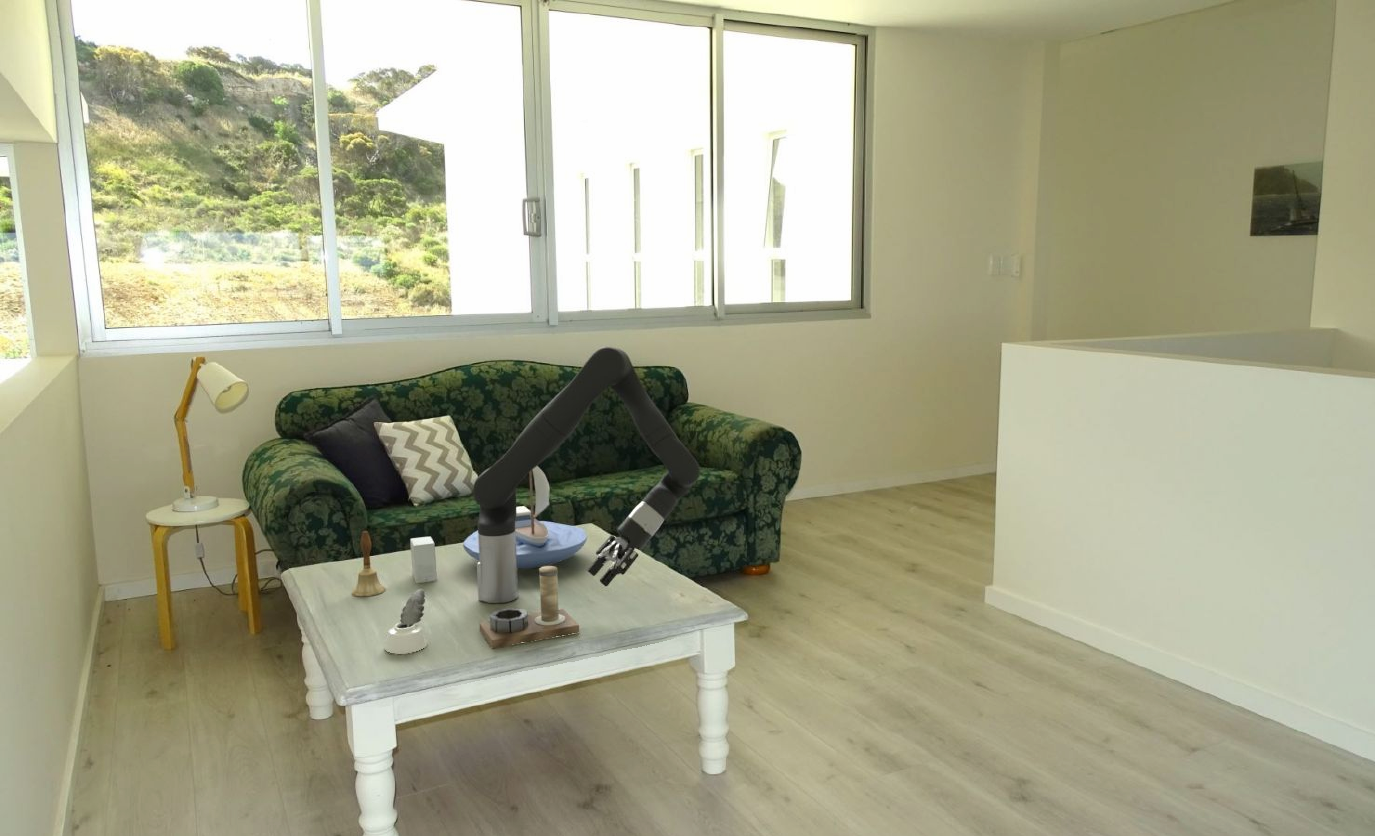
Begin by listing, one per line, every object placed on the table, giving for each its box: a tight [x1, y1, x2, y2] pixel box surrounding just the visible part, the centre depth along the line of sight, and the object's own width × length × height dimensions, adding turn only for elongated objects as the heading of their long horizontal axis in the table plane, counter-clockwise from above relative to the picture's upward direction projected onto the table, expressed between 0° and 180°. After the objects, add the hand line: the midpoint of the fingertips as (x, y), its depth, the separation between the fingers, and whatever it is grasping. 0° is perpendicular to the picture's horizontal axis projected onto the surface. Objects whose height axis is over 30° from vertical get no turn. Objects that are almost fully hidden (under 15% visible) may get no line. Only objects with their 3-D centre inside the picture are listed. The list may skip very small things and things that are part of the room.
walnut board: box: [478, 608, 580, 650], centre depth 224 cm, size 20×12×2 cm, turn 115°
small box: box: [409, 536, 438, 584], centre depth 265 cm, size 8×6×10 cm
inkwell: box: [384, 588, 428, 655], centre depth 221 cm, size 9×18×10 cm, turn 179°
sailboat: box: [462, 465, 588, 570], centre depth 276 cm, size 34×35×32 cm
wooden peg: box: [538, 565, 559, 622], centre depth 225 cm, size 4×4×12 cm
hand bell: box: [351, 530, 387, 597], centre depth 254 cm, size 8×8×16 cm
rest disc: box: [535, 614, 565, 626], centre depth 226 cm, size 7×7×1 cm
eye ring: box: [489, 607, 529, 634], centre depth 222 cm, size 8×8×3 cm
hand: (596, 578), depth 230 cm, fingers open, 8 cm apart
